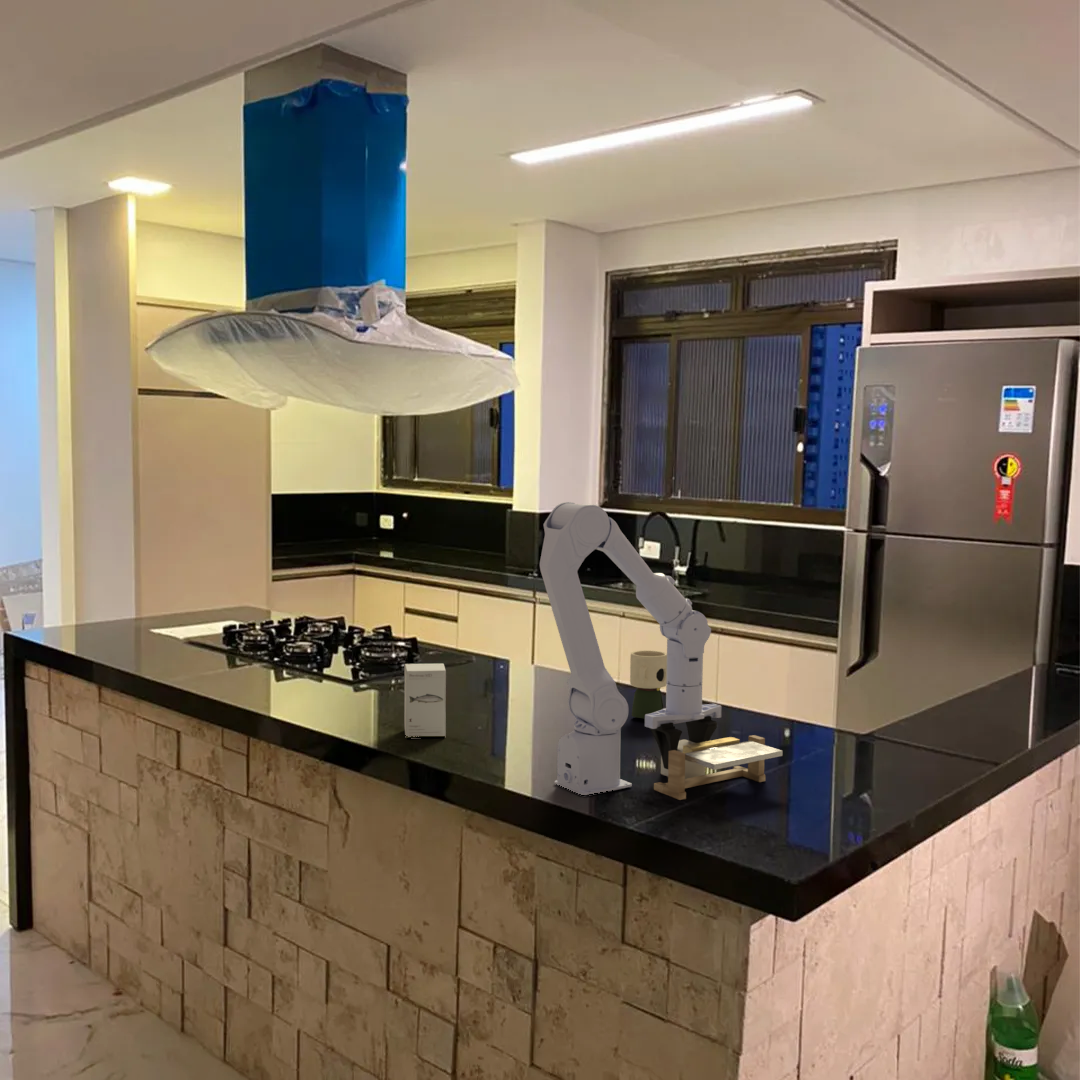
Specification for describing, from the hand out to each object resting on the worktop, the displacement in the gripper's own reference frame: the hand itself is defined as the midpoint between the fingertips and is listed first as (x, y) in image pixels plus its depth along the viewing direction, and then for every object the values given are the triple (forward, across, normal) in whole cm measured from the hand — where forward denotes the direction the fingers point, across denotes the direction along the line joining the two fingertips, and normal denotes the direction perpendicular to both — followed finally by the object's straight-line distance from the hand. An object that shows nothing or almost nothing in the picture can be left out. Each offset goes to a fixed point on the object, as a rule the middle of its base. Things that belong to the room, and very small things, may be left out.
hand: (682, 766), depth 175 cm
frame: (+1, 0, -7) cm, 7 cm away
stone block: (+2, 0, 0) cm, 2 cm away
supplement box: (+2, -23, +45) cm, 51 cm away
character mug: (+2, +19, +32) cm, 37 cm away
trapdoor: (-4, 0, -10) cm, 11 cm away
